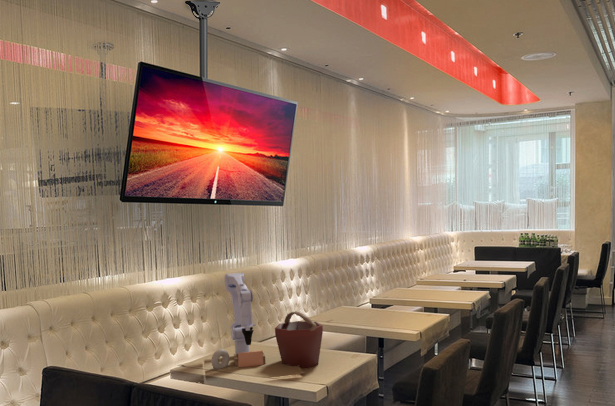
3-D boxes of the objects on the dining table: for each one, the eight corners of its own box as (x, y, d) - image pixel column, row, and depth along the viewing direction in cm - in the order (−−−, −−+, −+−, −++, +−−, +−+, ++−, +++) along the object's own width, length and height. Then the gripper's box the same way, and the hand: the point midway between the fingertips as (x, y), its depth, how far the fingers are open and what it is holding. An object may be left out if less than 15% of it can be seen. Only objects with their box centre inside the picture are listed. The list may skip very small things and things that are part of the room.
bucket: (329, 368, 271) (326, 314, 271) (283, 374, 265) (280, 318, 265) (314, 356, 295) (311, 306, 295) (271, 361, 289) (268, 310, 289)
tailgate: (238, 367, 276) (237, 352, 276) (263, 364, 278) (262, 350, 278) (238, 368, 275) (237, 353, 275) (263, 365, 277) (263, 350, 277)
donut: (214, 373, 272) (213, 351, 272) (210, 372, 274) (209, 350, 274) (231, 368, 279) (230, 347, 279) (226, 367, 281) (225, 346, 281)
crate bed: (234, 364, 287) (233, 353, 287) (262, 361, 289) (262, 351, 290) (236, 369, 276) (235, 359, 276) (265, 366, 279) (265, 356, 279)
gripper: (255, 316, 279) (257, 345, 278) (254, 313, 294) (255, 340, 293) (240, 317, 278) (242, 346, 277) (239, 314, 293) (241, 342, 292)
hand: (248, 343), depth 285 cm, fingers open, 7 cm apart
